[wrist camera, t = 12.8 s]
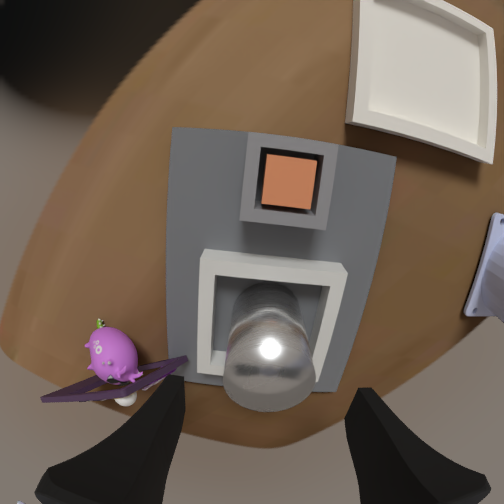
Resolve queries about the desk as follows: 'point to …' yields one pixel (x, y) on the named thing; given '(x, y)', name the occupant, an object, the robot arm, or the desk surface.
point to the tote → (424, 75)
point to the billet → (268, 350)
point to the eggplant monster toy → (114, 370)
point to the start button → (288, 181)
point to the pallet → (269, 243)
